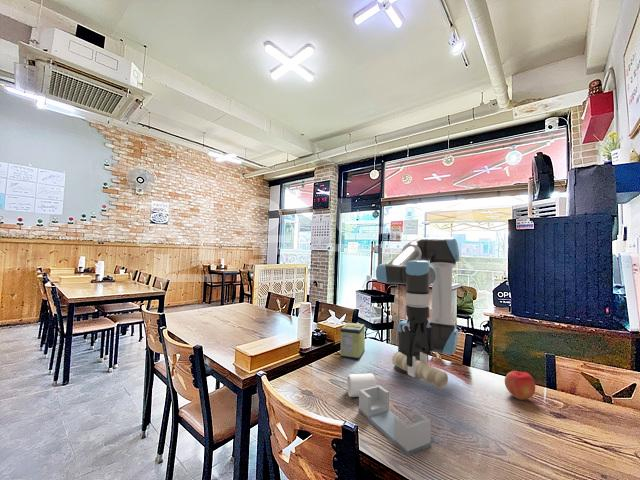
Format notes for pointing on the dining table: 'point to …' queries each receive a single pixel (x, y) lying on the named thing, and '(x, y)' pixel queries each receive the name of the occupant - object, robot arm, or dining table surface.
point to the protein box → (352, 341)
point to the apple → (520, 384)
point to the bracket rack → (394, 421)
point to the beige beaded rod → (422, 370)
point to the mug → (359, 383)
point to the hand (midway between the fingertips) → (417, 373)
